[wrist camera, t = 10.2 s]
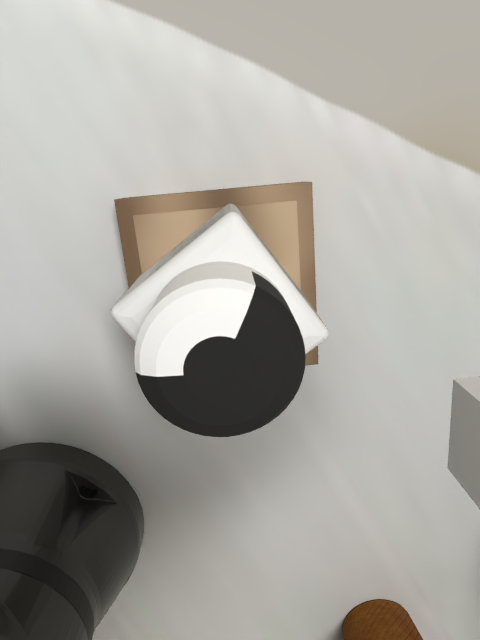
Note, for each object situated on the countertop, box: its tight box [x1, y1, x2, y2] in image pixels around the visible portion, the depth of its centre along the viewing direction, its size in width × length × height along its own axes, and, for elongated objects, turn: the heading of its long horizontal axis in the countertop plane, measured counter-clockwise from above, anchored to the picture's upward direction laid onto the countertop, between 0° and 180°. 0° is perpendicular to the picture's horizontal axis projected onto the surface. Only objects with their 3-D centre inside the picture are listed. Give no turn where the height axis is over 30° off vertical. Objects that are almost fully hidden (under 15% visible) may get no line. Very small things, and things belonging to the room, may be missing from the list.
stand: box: [114, 182, 318, 365], centre depth 30 cm, size 12×12×3 cm
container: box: [111, 204, 328, 437], centre depth 23 cm, size 8×8×13 cm
